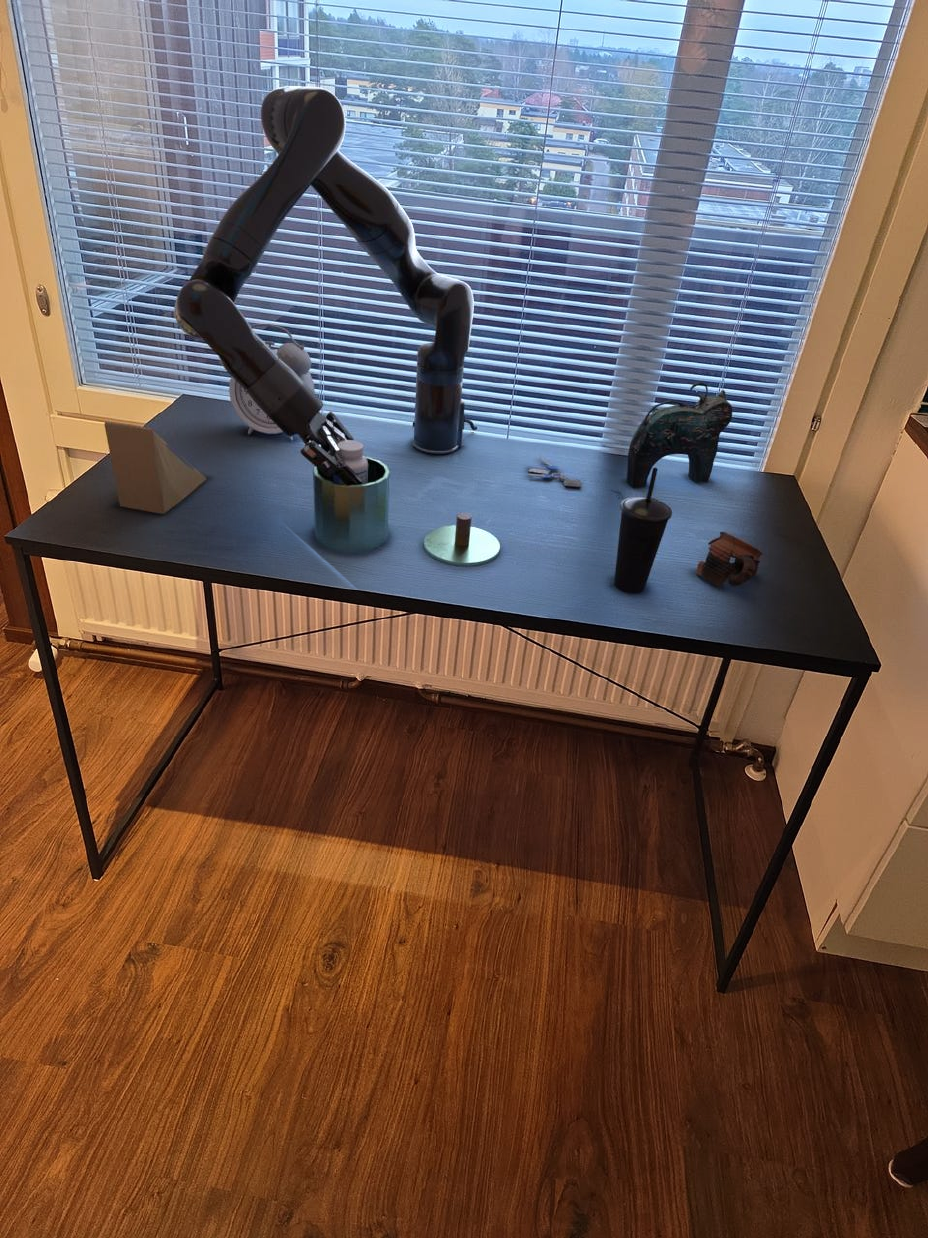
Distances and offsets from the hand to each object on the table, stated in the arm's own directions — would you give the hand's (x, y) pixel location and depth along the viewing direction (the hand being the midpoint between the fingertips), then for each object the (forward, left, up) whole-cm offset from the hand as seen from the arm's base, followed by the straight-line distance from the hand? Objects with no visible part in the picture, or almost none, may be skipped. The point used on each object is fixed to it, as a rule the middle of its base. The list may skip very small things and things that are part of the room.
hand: (361, 478), depth 130 cm
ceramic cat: (-66, +10, -11) cm, 67 cm away
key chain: (-45, -3, -11) cm, 46 cm away
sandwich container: (+21, -31, -11) cm, 39 cm away
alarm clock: (-8, -47, -11) cm, 49 cm away
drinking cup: (-29, +34, -11) cm, 46 cm away
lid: (-12, +11, -10) cm, 20 cm away
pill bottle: (+1, -1, -4) cm, 5 cm away
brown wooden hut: (-45, +41, -11) cm, 62 cm away
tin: (+1, -1, -11) cm, 11 cm away
